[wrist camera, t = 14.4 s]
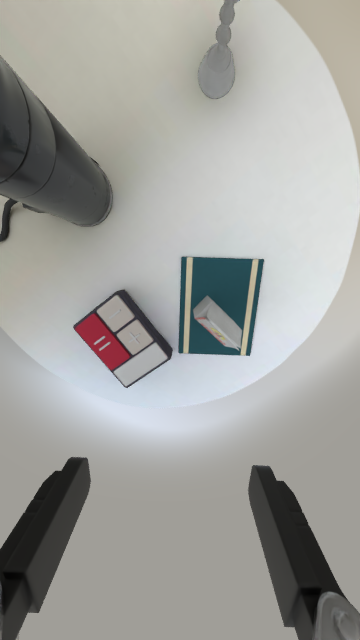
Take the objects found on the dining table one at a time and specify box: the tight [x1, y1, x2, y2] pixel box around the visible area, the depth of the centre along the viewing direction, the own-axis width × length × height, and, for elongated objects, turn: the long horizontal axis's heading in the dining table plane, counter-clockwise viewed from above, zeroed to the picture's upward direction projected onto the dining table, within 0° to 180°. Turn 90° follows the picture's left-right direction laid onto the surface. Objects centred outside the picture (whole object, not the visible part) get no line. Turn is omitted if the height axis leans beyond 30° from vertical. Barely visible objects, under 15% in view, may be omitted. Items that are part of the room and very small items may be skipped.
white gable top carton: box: [193, 295, 242, 350], centre depth 31 cm, size 4×7×10 cm, turn 47°
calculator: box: [73, 290, 173, 388], centre depth 36 cm, size 11×4×15 cm
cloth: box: [179, 257, 264, 356], centre depth 36 cm, size 14×18×1 cm
